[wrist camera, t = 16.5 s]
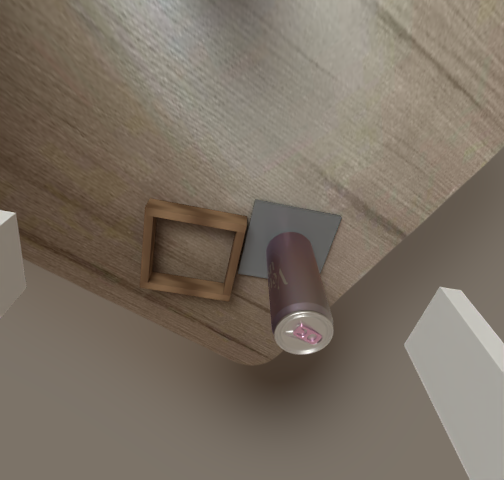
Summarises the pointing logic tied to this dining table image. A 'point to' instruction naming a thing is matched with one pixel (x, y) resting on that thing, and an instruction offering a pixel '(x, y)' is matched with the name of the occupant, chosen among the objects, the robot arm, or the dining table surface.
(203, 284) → the walnut holder
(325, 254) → the slate coaster
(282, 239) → the beverage can
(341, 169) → the dining table surface
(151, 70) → the dining table surface
